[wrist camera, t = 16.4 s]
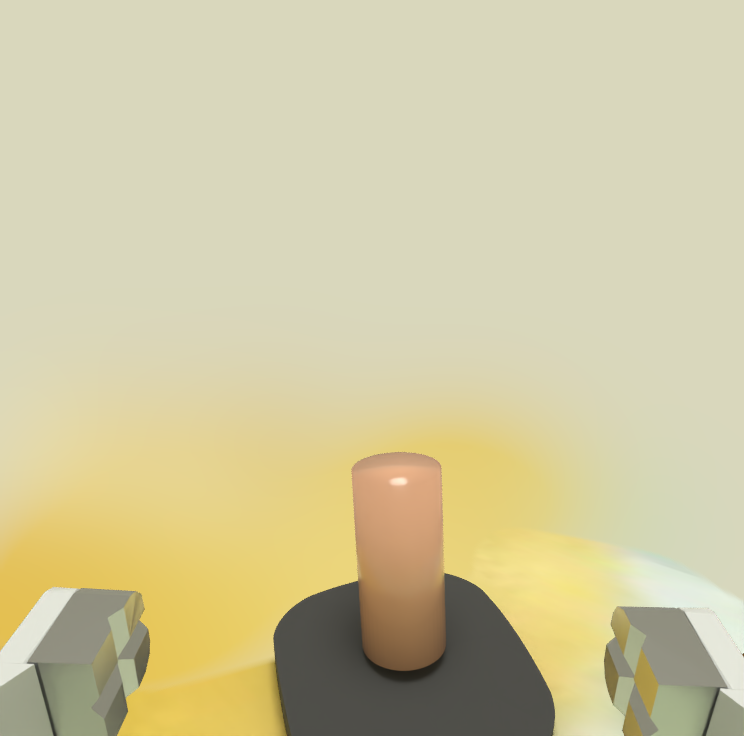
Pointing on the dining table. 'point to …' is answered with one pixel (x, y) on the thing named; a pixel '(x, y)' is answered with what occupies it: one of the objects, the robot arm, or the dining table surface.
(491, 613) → the media streaming box
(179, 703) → the dining table surface
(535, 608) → the dining table surface
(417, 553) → the salmon orange cylinder
